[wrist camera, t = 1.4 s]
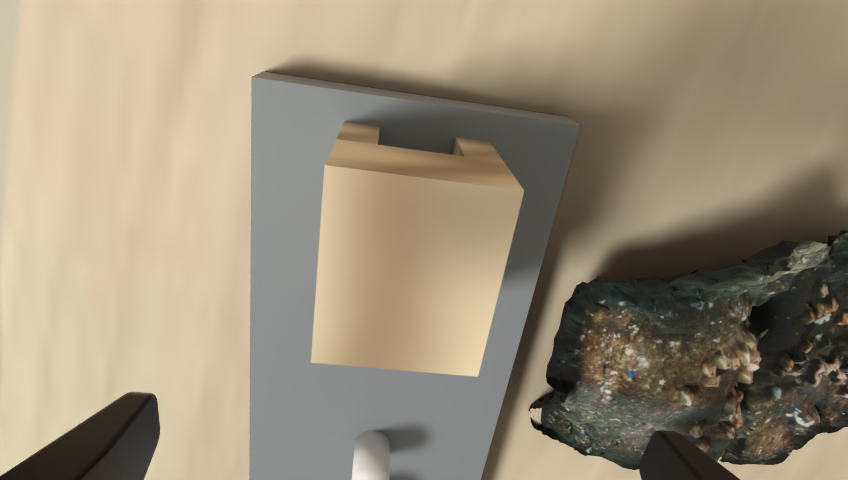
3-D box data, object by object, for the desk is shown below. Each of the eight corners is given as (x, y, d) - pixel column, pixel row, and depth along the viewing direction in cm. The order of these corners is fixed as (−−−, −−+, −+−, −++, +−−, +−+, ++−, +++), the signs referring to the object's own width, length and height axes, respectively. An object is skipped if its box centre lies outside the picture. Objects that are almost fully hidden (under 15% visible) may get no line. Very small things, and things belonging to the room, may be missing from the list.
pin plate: (567, 116, 18) (603, 139, 15) (463, 501, 27) (472, 567, 24) (263, 71, 17) (232, 85, 14) (256, 490, 26) (237, 557, 23)
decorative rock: (1122, 227, 17) (955, 536, 23) (933, 184, 23) (836, 438, 28) (605, 249, 15) (556, 584, 20) (539, 195, 21) (514, 468, 26)
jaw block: (489, 142, 17) (524, 190, 12) (458, 291, 19) (477, 376, 15) (343, 121, 16) (324, 165, 12) (331, 277, 19) (310, 362, 14)
